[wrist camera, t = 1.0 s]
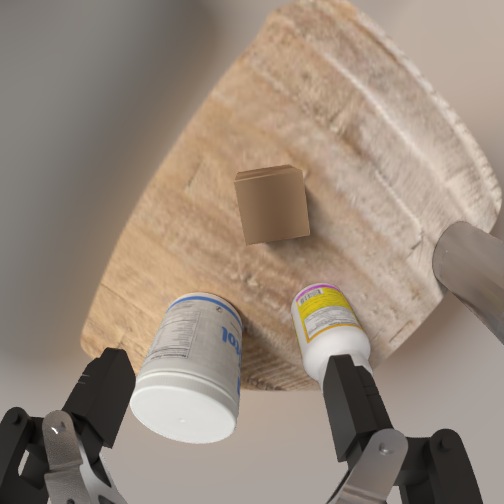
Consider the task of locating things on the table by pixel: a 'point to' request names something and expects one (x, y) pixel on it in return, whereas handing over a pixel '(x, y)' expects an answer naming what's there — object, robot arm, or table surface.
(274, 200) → the walnut block
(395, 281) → the table surface
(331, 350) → the supplement bottle
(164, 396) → the supplement tub
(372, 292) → the table surface
